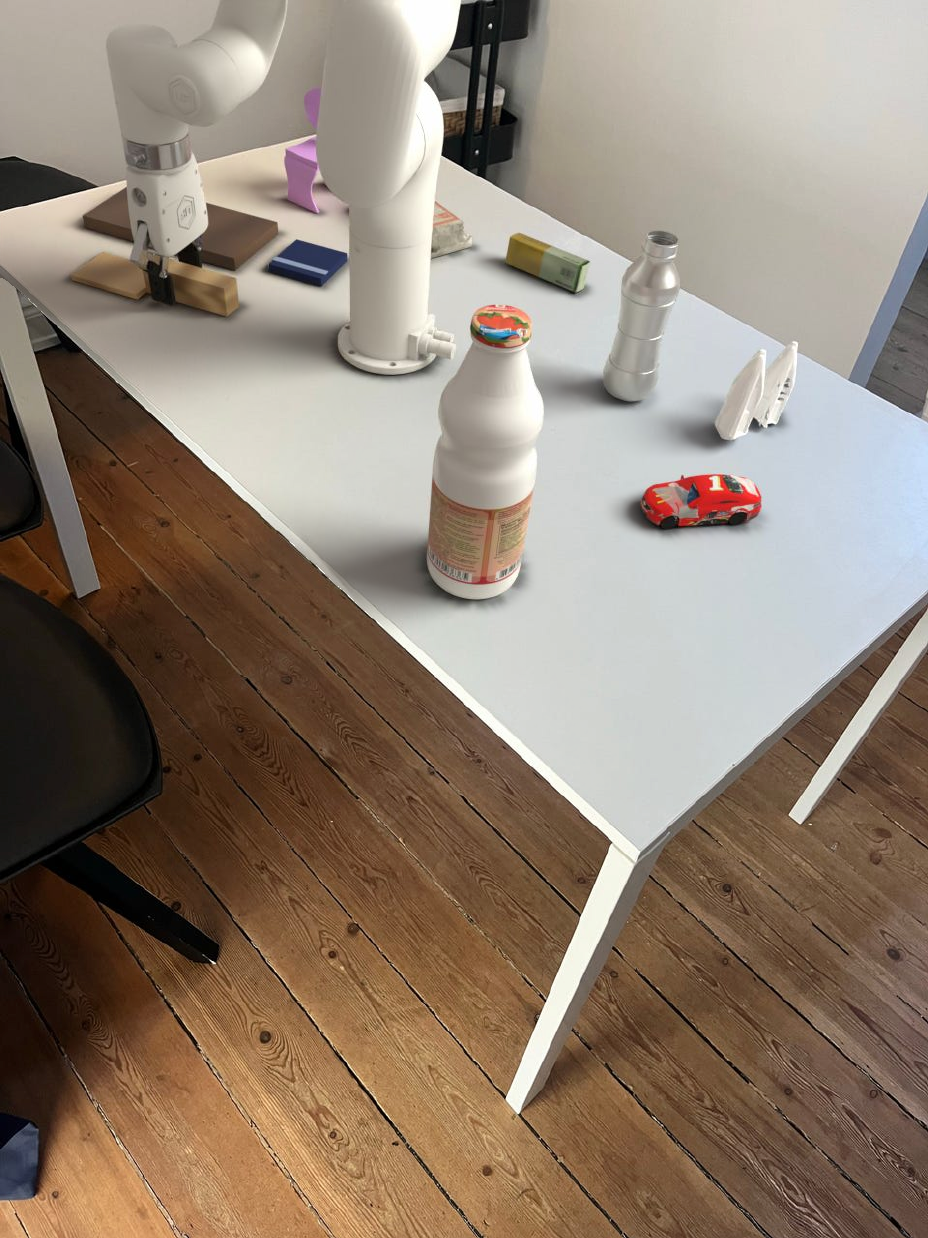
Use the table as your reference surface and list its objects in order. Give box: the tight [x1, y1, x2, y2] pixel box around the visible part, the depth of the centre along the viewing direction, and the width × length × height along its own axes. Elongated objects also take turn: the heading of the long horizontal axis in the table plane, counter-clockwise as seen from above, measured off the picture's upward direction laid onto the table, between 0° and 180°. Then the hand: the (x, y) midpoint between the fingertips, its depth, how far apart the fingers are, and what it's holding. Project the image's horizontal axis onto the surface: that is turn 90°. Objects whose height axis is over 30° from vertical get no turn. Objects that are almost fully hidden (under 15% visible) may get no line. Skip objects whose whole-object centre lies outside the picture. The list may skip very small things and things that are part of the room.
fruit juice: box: [426, 304, 545, 600], centre depth 88 cm, size 9×9×28 cm
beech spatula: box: [70, 251, 240, 317], centre depth 127 cm, size 22×7×4 cm, turn 69°
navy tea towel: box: [267, 239, 348, 287], centre depth 135 cm, size 8×8×1 cm
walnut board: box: [82, 186, 279, 272], centre depth 139 cm, size 24×12×2 cm, turn 69°
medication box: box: [504, 232, 591, 294], centre depth 137 cm, size 12×3×4 cm, turn 57°
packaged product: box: [431, 201, 473, 259], centre depth 143 cm, size 18×5×10 cm
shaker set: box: [714, 341, 799, 441], centre depth 114 cm, size 12×4×11 cm, turn 130°
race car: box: [639, 473, 762, 530], centre depth 106 cm, size 13×5×4 cm, turn 98°
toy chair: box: [283, 86, 326, 214], centre depth 144 cm, size 8×9×15 cm
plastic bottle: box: [602, 229, 681, 402], centre depth 114 cm, size 6×7×20 cm
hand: (178, 288), depth 128 cm, fingers open, 5 cm apart
